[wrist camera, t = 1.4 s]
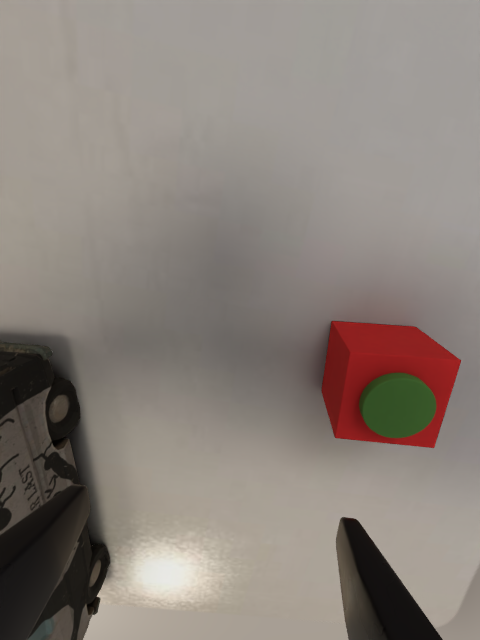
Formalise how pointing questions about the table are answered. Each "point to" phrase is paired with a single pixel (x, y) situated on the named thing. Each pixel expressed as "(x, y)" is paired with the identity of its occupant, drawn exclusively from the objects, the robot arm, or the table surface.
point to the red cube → (386, 383)
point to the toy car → (45, 478)
